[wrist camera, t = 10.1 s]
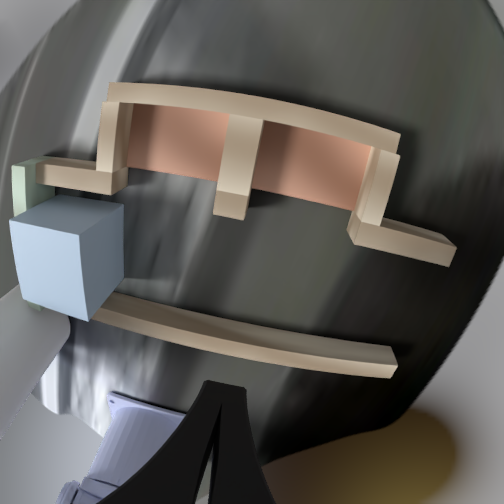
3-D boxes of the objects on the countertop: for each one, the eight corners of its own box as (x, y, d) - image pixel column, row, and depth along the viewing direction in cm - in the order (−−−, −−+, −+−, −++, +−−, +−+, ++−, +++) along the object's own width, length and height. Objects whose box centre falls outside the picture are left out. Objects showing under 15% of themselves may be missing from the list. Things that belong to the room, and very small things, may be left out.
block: (124, 277, 20) (88, 321, 15) (64, 262, 20) (22, 298, 15) (124, 203, 18) (78, 235, 13) (59, 193, 18) (9, 220, 13)
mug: (20, 260, 20) (-83, 350, 9) (82, 312, 21) (-6, 429, 10) (9, 331, 24) (-58, 410, 13) (59, 372, 25) (1, 464, 14)
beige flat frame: (383, 358, 21) (393, 388, 18) (50, 285, 21) (28, 306, 18) (465, 161, 15) (493, 172, 12) (48, 85, 14) (16, 86, 12)
